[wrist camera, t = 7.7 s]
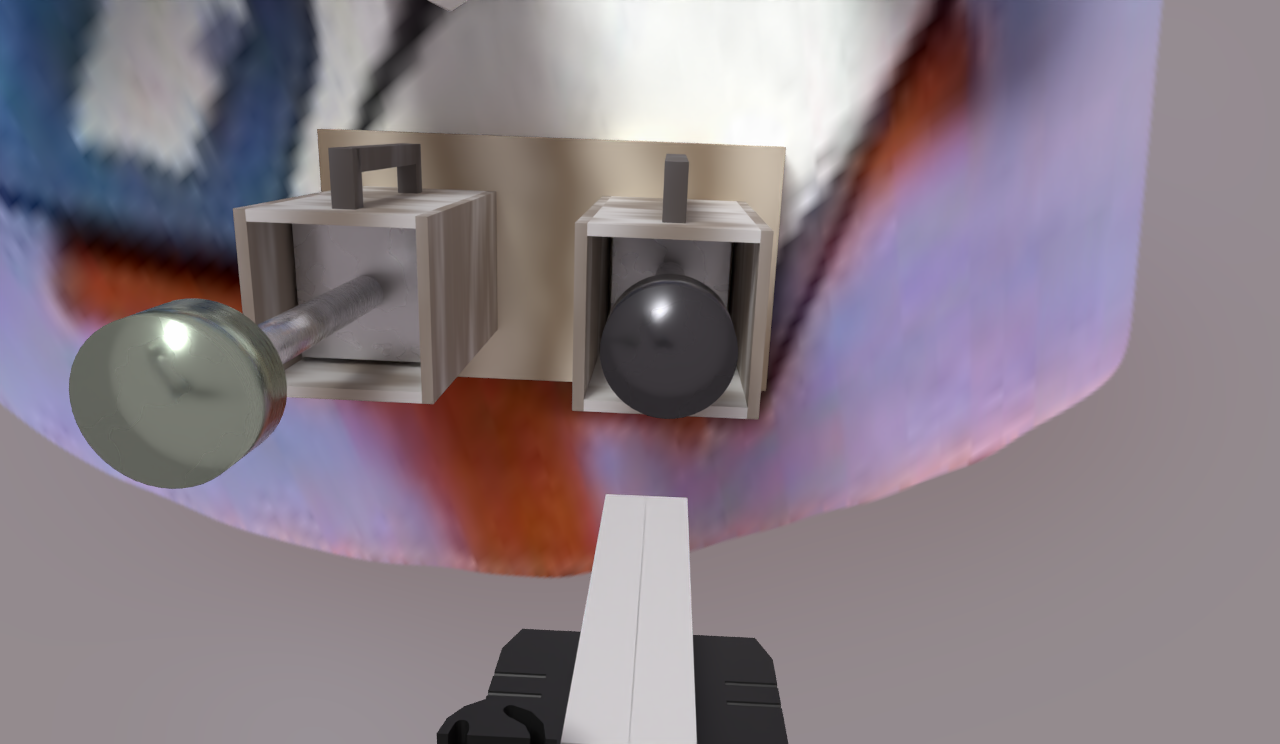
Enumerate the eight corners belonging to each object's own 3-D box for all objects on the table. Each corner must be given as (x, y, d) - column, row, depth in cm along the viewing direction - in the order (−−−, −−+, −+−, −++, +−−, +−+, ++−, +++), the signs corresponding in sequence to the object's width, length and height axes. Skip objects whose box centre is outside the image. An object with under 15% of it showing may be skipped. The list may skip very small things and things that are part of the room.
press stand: (345, 361, 53) (212, 457, 38) (331, 129, 49) (176, 130, 34) (762, 381, 53) (799, 486, 37) (781, 146, 49) (831, 156, 33)
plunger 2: (611, 327, 48) (579, 432, 32) (614, 213, 46) (582, 261, 30) (724, 332, 48) (750, 440, 32) (731, 218, 46) (764, 269, 30)
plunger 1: (309, 352, 41) (62, 505, 24) (299, 218, 39) (26, 285, 23) (441, 358, 41) (283, 516, 24) (437, 223, 39) (263, 295, 22)
